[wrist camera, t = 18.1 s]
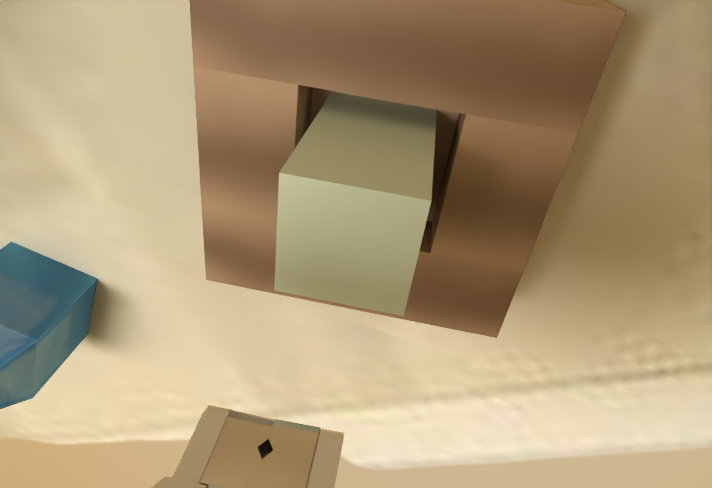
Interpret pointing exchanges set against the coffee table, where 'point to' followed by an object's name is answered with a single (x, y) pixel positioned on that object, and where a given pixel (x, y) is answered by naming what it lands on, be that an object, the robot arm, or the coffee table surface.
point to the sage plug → (356, 203)
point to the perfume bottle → (38, 319)
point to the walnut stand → (406, 86)
